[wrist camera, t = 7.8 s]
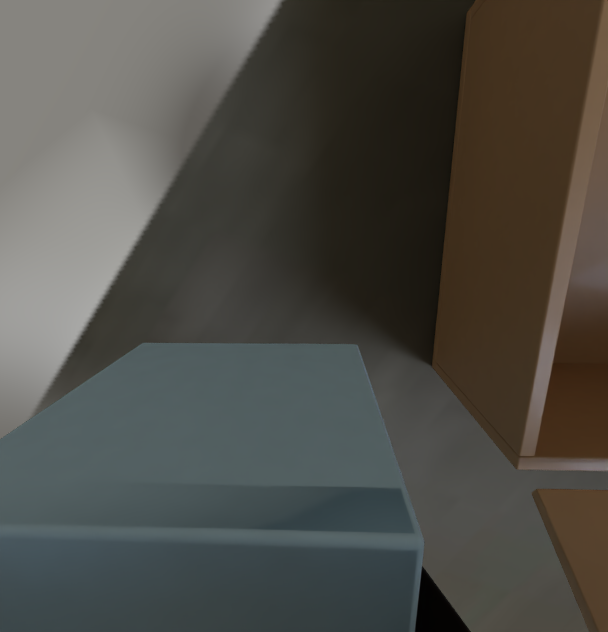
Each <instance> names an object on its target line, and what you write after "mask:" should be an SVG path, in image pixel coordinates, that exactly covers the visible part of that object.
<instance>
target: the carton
mask: <svg viewBox="0 0 608 632" xmlns="http://www.w3.org/2000/svg"><path fill="white" fill-rule="evenodd" d="M432 367H433V369H434V370H435V371H436V372H437V374H438V375H439V376H440V377H441V378H442V380H443V381H444V382H445V383H446V384H447V386H448V387H449V388H450V389H451V391H452V392H453V393H454V394H455V395H456V397H457V398H458V399H459V400H460V402H461V403H462V404H463V405H464V406H465V408H466V409H467V410H468V411H469V412H470V414H471V415H472V416H473V417H474V419H475V420H476V421H477V422H478V423H479V425H480V426H481V427H482V428H483V429H484V431H485V432H486V433H487V434H488V436H489V437H490V438H491V439H492V440H493V442H494V443H495V444H496V445H497V446H498V448H499V449H500V450H501V451H502V453H503V454H504V455H505V456H506V457H507V459H508V460H509V461H510V462H511V464H512V465H513V466H514V467H515V468H516V469H517V470H565V471H608V0H476V1H475V2H474V4H473V5H472V7H471V8H470V9H469V11H468V12H467V16H466V26H465V36H464V46H463V56H462V66H461V77H460V87H459V97H458V107H457V117H456V127H455V137H454V148H453V158H452V168H451V178H450V188H449V198H448V209H447V219H446V229H445V239H444V249H443V259H442V269H441V280H440V290H439V300H438V310H437V320H436V330H435V340H434V351H433V361H432Z"/></svg>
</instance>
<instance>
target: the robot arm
mask: <svg viewBox="0 0 608 632" xmlns="http://www.w3.org/2000/svg"><path fill="white" fill-rule="evenodd" d="M415 632H471V631H470V630H469V629H468V627H467V626H466V625H465V623H464V622H463V621H462V619H461V618H460V616H459V615H458V614H457V612H456V611H455V610H454V608H453V607H452V606H451V604H450V603H449V602H448V600H447V599H446V597H445V596H444V595H443V593H442V592H441V591H440V589H439V588H438V587H437V585H436V584H435V583H434V581H433V580H432V578H431V577H430V576H429V574H428V573H427V572H426V570H425V569H424V568H423V566H422V570H421V579H420V589H419V598H418V607H417V616H416V626H415Z"/></svg>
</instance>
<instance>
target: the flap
mask: <svg viewBox="0 0 608 632" xmlns="http://www.w3.org/2000/svg"><path fill="white" fill-rule="evenodd" d="M532 496H533V498H534V501H535V503H536V505H537V508H538V510H539V513H540V515H541V517H542V520H543V522H544V525H545V527H546V529H547V532H548V534H549V537H550V539H551V541H552V544H553V546H554V549H555V551H556V553H557V556H558V558H559V561H560V563H561V565H562V568H563V570H564V573H565V575H566V577H567V580H568V582H569V584H570V587H571V589H572V592H573V594H574V596H575V599H576V601H577V604H578V606H579V608H580V611H581V613H582V616H583V618H584V620H585V623H586V625H587V628H588V630H589V632H608V490H571V489H536V490H535V491H533V492H532Z"/></svg>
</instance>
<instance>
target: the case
mask: <svg viewBox="0 0 608 632" xmlns="http://www.w3.org/2000/svg"><path fill="white" fill-rule="evenodd" d="M424 543H425V542H424V539H423V536H422V533H421V530H420V527H419V524H418V521H417V518H416V515H415V512H414V509H413V506H412V503H411V501H410V498H409V495H408V492H407V489H406V486H405V483H404V480H403V477H402V474H401V471H400V468H399V465H398V462H397V459H396V457H395V454H394V451H393V448H392V445H391V442H390V439H389V436H388V433H387V430H386V427H385V424H384V421H383V418H382V415H381V412H380V410H379V407H378V404H377V401H376V398H375V395H374V392H373V389H372V386H371V383H370V380H369V377H368V374H367V371H366V368H365V366H364V363H363V360H362V357H361V354H360V351H359V348H358V345H356V344H254V343H142V344H140V345H139V346H137V347H136V348H134V349H133V350H131V351H130V352H128V353H127V354H125V355H124V356H123V357H121V358H120V359H118V360H117V361H115V362H114V363H112V364H111V365H109V366H108V367H106V368H105V369H103V370H102V371H100V372H99V373H97V374H96V375H94V376H93V377H91V378H90V379H88V380H87V381H86V382H84V383H83V384H81V385H80V386H78V387H77V388H75V389H74V390H72V391H71V392H69V393H68V394H66V395H65V396H63V397H62V398H60V399H59V400H57V401H56V402H54V403H53V404H52V405H50V406H49V407H47V408H46V409H44V410H43V411H41V412H40V413H38V414H37V415H35V416H34V417H32V418H31V419H29V420H28V421H26V422H25V423H23V424H22V425H20V426H19V427H17V428H16V429H15V430H13V431H12V432H10V433H9V434H7V435H6V436H4V437H3V438H1V439H0V632H415V626H416V616H417V607H418V598H419V589H420V579H421V570H422V561H423V552H424Z"/></svg>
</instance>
